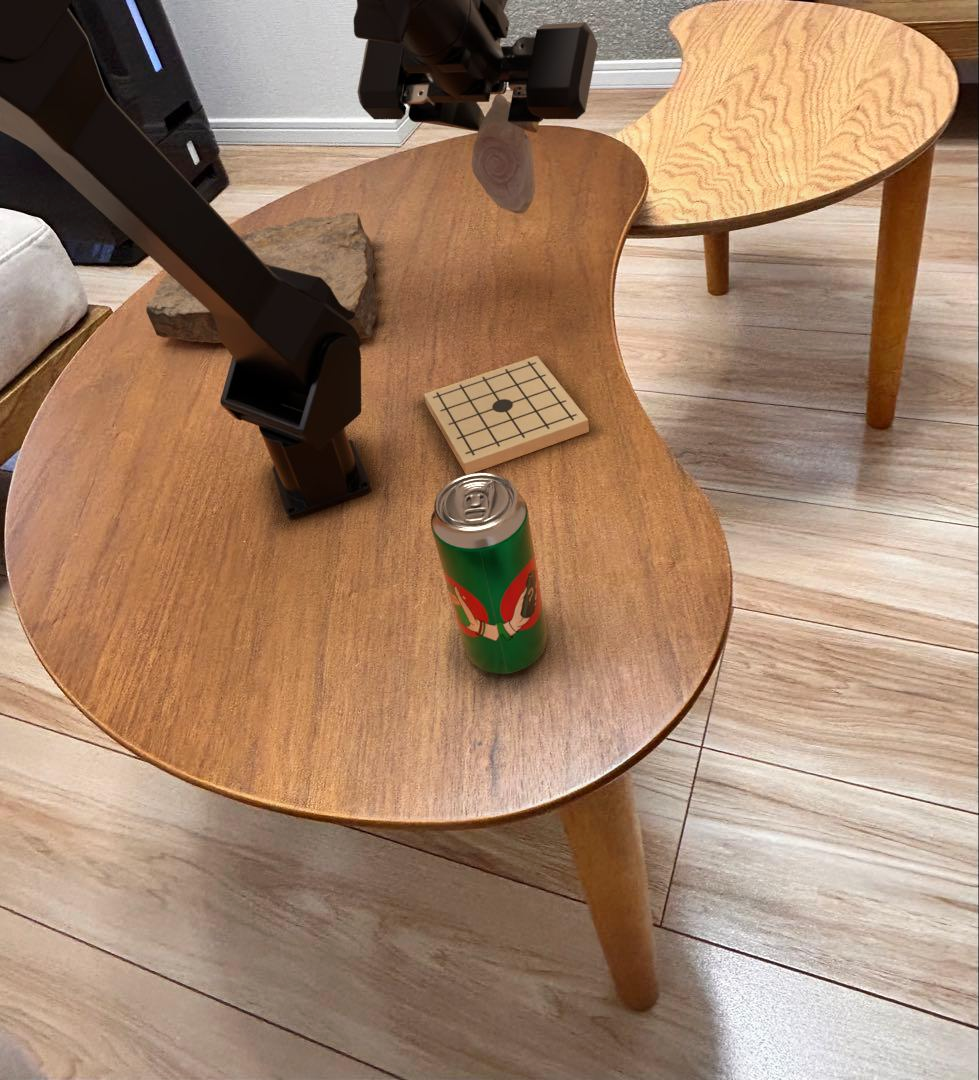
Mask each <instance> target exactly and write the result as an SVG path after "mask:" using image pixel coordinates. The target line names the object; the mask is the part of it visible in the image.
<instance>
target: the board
mask: <svg viewBox="0 0 979 1080" xmlns="http://www.w3.org/2000/svg"><path fill="white" fill-rule="evenodd" d="M423 396H424V400H425V405H426V407H427V409H428V411H429V412H430V414H431V416H432V418H433V419H434V421H435V423H436V425H437V427H438V428H439V430H440V432H441V434H442V435H443V437H444V439H445V440H446V443H447V444H448V446H449V447H450V449H451V451H452V453H453V455H454V456H455V458H456V460H457V462H458V463H459V465H460V467H461V469H462V471H463V472H464V475H469V474H474V473H479V472H480V471H483V470H486V469H488V468H491V467H495V466H497V465H500V464H503V463H506V462H508V461H511V460H514V459H517V458H520V457H522V456H525V455H528V454H532V453H533V452H536V451H539V450H542V449H545V448H548V447H550V446H554V445H556V444H559V443H561V442H564V441H567V440H569V439H573V438H577V437H579V436H582V435H585V434H587V433H589V432H590V427H589V419H588V417H587V416H586V415H585V414H584V412H583V411H582V410H581V409H580V408H579V406H578V405H577V404H576V402H575V401H574V400H573V398H572V397H571V396H570V395H569V394H568V392H567V391H566V390H565V389H564V387H563V386H562V385H561V384H560V382H559V381H558V380H557V378H555V376H554V375H553V374H552V372H551V371H550V370H549V368H547V366H546V365H545V364H544V362H543V361H542V360H541V358H540V357H539V356H538V355H534V356H531V357H528V358H526V359H522V360H519V361H517V362H513V363H511V364H508V365H505V366H502V367H498V368H496V369H493V370H490V371H487V372H484V373H481V374H478V375H475V376H472V377H469V378H466V379H463V380H460V381H458V382H455V383H452V384H448V385H445V386H443V387H440V388H436V389H434V390H431V391H427V392H425V393H424V394H423Z"/></svg>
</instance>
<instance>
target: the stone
mask: <svg viewBox="0 0 979 1080" xmlns="http://www.w3.org/2000/svg"><path fill="white" fill-rule="evenodd" d="M362 224H363V223H362V220H361V217H360V215H359V213H358V212H356V211H350V212H348V211H345V212H344V211H343V212H342V213H339V214H337V215H336V216H327V217H311V216H310V217H309V216H307V217H304V218H302V219H301V218H300V219H297V220H294V221H293V222H291V223H289V224H285V225H284V224H273V225H270V226H267V227H266V226H265V228H262V229H254V230H253V231H251V230H250V231H245V233H243V234H242V235H239V237H240V238H241V239H242V240H243V241H244V242H245V243H246V244H247V245H248V246H249V247H250V249H251V250H252V251H253V252H254V253H255V254H256V255H257V256H258V257H259V258H260V259H261V260H262V261H263V263H264V264H268V265H272V266H276V267H280V268H284V269H288V270H292V271H296V272H301V273H305V274H309V275H313V276H317V277H320V278H322V279H323V280H324V281H325V282H326V283H327V284H328V285H329V287H330V288H331V290H332V291H333V293H334V295H335V297H336V298H337V300H338V301H339V303H340V304H341V305H342V306H343V307H345V308H346V309H347V310H350V311H352V312H355V317H354V318H353V319H351V320H350V322H351V323H352V324H353V325H354V327H355V328H356V330H357V331H358V333H359V336H360V339H361V340H362V339H363V340H364V339H370V338H371V337H372V336H373V327H374V325H375V323H376V317H377V315H378V313H379V307H378V303H377V300H378V299H377V296H376V285H375V280H374V278H373V277H374V274H375V273H376V263H375V258H374V251H375V246H374V244H373V243H372V241H371V239H370V237H369V236H368V234H367V233H366V231H365V229H364V227H363V225H362ZM145 308H146V309H145V311H146V314H147V317H148V318H149V321H150V323H151V325H152V327H153V330H154V333H155V334H156V336H158V337H161V338H165V339H167V338H170V339H172V338H173V339H178V340H182V341H187V342H191V343H192V342H199V343H204V342H205V343H213V344H218V343H222V342H221V340H220V337H219V334H218V330H217V327H216V323H215V319H214V317H213V315H212V314H211V313H210V311H209V310H208V309H207V308H206V307H205V306H204V305H202V304H201V303H200V302H199V301H198V300H197V299H196V298H195V297H194V296H193V295H192V294H190V293H189V292H188V291H187V290H186V289H185V288H184V287H183V286H182V285H181V284H180V283H178V282H177V281H176V280H175V279H174V278H173V277H172V276H171V275H170V274H169V273H167V272H166V274H165V275H164V276H163V278H162V279H161V281H160V283H159V284H158V285H157V288H156V290H155V295H153V296H151V297H150V298H149V299H148V301H147V304H146V307H145Z"/></svg>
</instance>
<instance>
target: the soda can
mask: <svg viewBox="0 0 979 1080" xmlns="http://www.w3.org/2000/svg"><path fill="white" fill-rule="evenodd" d="M433 505H434V506H433V511H432V513H431V517H430V518H431V519H430V528H431V531H432V536H433V539H434V542H435V543H434V544H435V547H436V550H437V553H438V558H439V561H440V565H441V569H442V572H443V576H444V580H445V584H446V587H447V591H448V595H449V598H450V602H451V605H452V609H453V613H454V617H455V620H456V624H457V628H458V632H459V635H460V639H461V642H462V646H463V650H464V653H465V655H466V657H467V658H468V660H469V661H470V662H471V664H472V665H474V666H475V667H477V668H478V669H479V670H482V671H484V672H487V673H492V674H499V675H504V674H505V675H507V674H513V673H516V672H519V671H522V670H524V669H526V668H528V667H530V666H531V665H533V663H536V661H537V660H538V659H539V658H540V657H541V655H542V654H543V653H544V651H545V649H546V646H547V642H548V630H547V625H546V618H545V617H546V616H545V611H544V606H543V599H542V593H541V587H540V586H541V585H540V580H539V573H538V567H537V560H536V555H535V548H534V541H533V535H532V529H531V521H530V515H529V508H528V505H527V503H526V501H525V498H524V497H523V496H522V494H520V493H519V492H518V490H517V488H516V486H515V485H514V484H513V483H512V482H511V481H510V480H509V479H508V478H506V477H504V476H502V475H500V474H495V473H490V472H475V473H472V474H469V475H466V474H464V475H462V476H459V477H457V478H455V479H453V480H451V481H450V482H448V483H447V484H446V485H444V487H442V489H441V490H440V491H439V492H438V494H437V496H436V497H435V500H434V504H433Z"/></svg>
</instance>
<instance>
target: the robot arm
mask: <svg viewBox="0 0 979 1080" xmlns="http://www.w3.org/2000/svg"><path fill="white" fill-rule="evenodd" d="M508 1H509V0H356V10H355V13H354V15H353V33H354V36H355V37H356V38H357V39H360V40H361V39H362V40H367V41H366V43H365V48H364V53H363V59H362V64H361V69H360V76H359V81H358V86H357V97H358V102H359V104H360V105H361V108H362V109H363V110H364V111H365V112H366V113H367V114H368V115H369V116H370V117H371V118H372V119H373V120H402V119H403V118H404V117H405V116H406V112H407V106H408V112H407V113H408V119H409V120H410V121H411V122H413V123H422V124H429V125H434V126H435V125H436V126H441V127H449V128H454V129H460V130H464V131H473V132H476V133H478V131H479V128H480V125H481V123H482V121H483V119H484V118H485V116H486V115H485V114H484V112H483V110H482V108H481V107H480V104H478V103H489V102H490V100H491V98H490V97H491V95H498V94H500V95H504V94H506V92H507V89H508V88H509V90H510V91H512V95H511V100H510V103H511V105H510V110H509V116H508V122H510V123H512V124H514V125H517V126H519V127H521V128H523V129H525V131H528V132H531V133H538V129H539V124H540V123H541V122H543V120H578V119H579V118H580V117H581V116H582V115H584V114H585V113H586V110H587V104H588V99H589V96H590V95H589V94H590V90H591V89H590V88H591V85H592V84H591V83H592V77H593V73H594V68H595V61H596V56H597V52H598V46H599V44H598V41H597V39H596V36H595V35H594V32H593V30H592V29H591V28H590V26H589V25H588V24H587V22H585V21H584V22H565V23H564V22H562V23H542V24H541V25H540V26H539V27H538V28H536V32H535V36H521V37H519V38H518V39H516V41H515V42H514V43H513V45H506V46H504V45H503V46H501V39H507V38H508V33H509V27H510V20H509V19H508V16H507V15H506V13H505V12H504V10H505V9H506V6H507V3H508ZM73 2H74V0H0V132H2V133H4V134H5V135H7V136H9V137H10V138H12V139H14V140H17V141H19V142H20V143H22V144H23V145H25V146H27V147H28V148H30V149H31V150H33V151H34V152H35V153H36V154H37V155H38V156H39V157H40V158H42V159H43V161H45V162H46V163H47V164H48V166H50V167H51V168H52V169H53V170H55V171H56V172H57V174H59V175H60V176H61V177H62V178H63V179H65V180H66V182H68V183H69V184H70V185H71V186H72V187H73V188H75V190H76V191H77V192H78V193H80V194H81V195H82V196H83V197H84V198H85V199H86V200H88V201H89V203H91V205H93V206H94V208H96V209H97V210H99V211H100V212H101V213H102V214H103V215H104V216H105V217H106V218H107V219H108V220H109V221H110V222H111V223H112V224H113V225H114V226H116V227H117V228H118V229H119V230H120V231H122V232H123V234H125V236H127V237H128V238H129V239H130V240H131V241H132V242H134V244H136V245H137V246H138V247H139V248H140V249H141V250H142V251H143V252H145V254H146V255H147V256H149V257H150V258H151V259H152V260H153V261H154V262H155V263H157V265H158V266H159V267H161V268H162V269H163V270H164V271H165V272H166V274H167V273H169V274H170V275H171V276H172V277H173V278H174V279H175V280H176V281H177V282H178V283H180V284H181V285H182V286H183V287H184V288H185V289H186V290H187V291H188V292H189V293H190V294H192V295H193V296H194V297H195V298H196V299H197V300H198V301H199V302H200V303H201V304H202V305H204V306H205V307H206V308H207V309H208V310H209V311H210V313H211V314H212V315H213V317H214V319H215V323H216V327H217V330H218V334H219V337H220V340H221V342H220V343H221V344H222V345H223V346H224V347H225V349H226V350H227V352H228V353H229V354H230V355H231V360H230V364H229V368H228V371H227V374H226V378H225V381H224V382H225V383H224V385H223V389H222V393H221V397H220V400H219V402H220V405H221V407H223V408H224V410H226V412H228V413H229V415H231V416H232V418H234V419H235V420H238V421H241V422H242V421H244V422H246V423H249V424H252V425H255V426H257V427H258V430H259V432H260V435H261V437H262V439H263V442H264V444H265V447H266V449H267V451H268V454H269V456H270V459H271V461H272V463H273V466H272V472H273V475H274V477H275V482H276V485H277V489H278V493H279V495H280V498H281V502H282V505H283V508H284V512H285V514H286V516H287V518H288V519H290V520H291V519H292V520H293V519H297V518H299V517H302V516H305V515H308V514H310V513H314V512H316V511H319V510H322V509H324V508H327V507H330V506H333V505H336V504H339V503H342V502H345V501H347V500H350V499H353V498H356V497H360V496H362V495H364V494H367V493H370V492H371V490H372V484H371V481H370V479H369V476H368V474H367V472H366V469H365V467H364V465H363V463H362V461H361V457H360V455H359V453H358V451H357V448H356V447H355V444H354V441H353V440H351V439H349V438H348V435H347V432H346V429H345V428H346V427H348V426H349V425H350V424H351V423H352V422H353V421H354V420H355V419H356V418H358V417H359V416H360V415H361V414H362V353H361V349H360V348H361V346H362V339H360V336H359V333H358V331H357V330H356V328H355V327H354V325H353V324H352V323H351V322H350V320H351V319H353V318H354V317H355V312H352V311H350V310H347V309H346V308H345V307H343V306H342V305H341V304H340V303H339V301H338V300H337V298H336V297H335V295H334V293H333V291H332V290H331V288H330V287H329V285H328V284H327V283H326V282H325V281H324V280H323V279H322V278H320V277H317V276H313V275H309V274H305V273H301V272H296V271H292V270H288V269H284V268H280V267H276V266H272V265H268V264H264V263H263V261H262V260H261V259H260V258H259V257H258V256H257V255H256V254H255V253H254V252H253V251H252V250H251V249H250V247H249V246H248V245H247V244H246V243H245V242H244V241H243V240H242V239H241V238H240V235H238V233H237V232H236V231H235V230H234V228H232V227H231V226H230V225H229V223H227V221H226V220H225V219H224V218H223V217H222V216H221V215H220V214H219V213H218V211H216V210H215V209H214V208H213V206H212V205H211V204H210V203H209V202H208V201H207V200H206V199H205V198H204V197H203V196H202V194H201V193H200V192H199V191H198V190H197V189H196V188H195V187H194V186H193V185H192V184H191V182H189V180H188V179H187V178H186V177H185V176H184V175H183V174H182V173H181V172H180V171H179V170H178V168H176V166H175V165H174V164H173V163H172V162H171V161H170V160H169V159H168V158H167V157H166V155H164V154H163V152H162V151H161V150H160V149H159V148H158V147H157V146H156V145H155V144H154V143H153V142H152V140H151V139H150V138H149V137H148V136H147V135H146V134H145V132H143V131H142V130H141V129H140V128H139V127H138V125H137V124H136V123H135V121H133V120H132V119H131V118H130V117H129V116H128V114H127V113H125V111H124V110H123V109H122V108H121V107H120V106H119V105H118V104H117V103H116V102H115V100H113V98H112V96H111V95H110V94H109V92H108V90H107V89H106V87H105V84H104V81H103V78H102V76H101V73H100V70H99V67H98V64H97V61H96V58H95V56H94V53H93V49H92V46H91V44H90V40H89V38H88V35H87V34H86V32H85V30H84V29H83V27H82V26H81V25H80V22H79V21H78V20H77V19H76V18H75V16H74V15H73V13H72V11H71V10H70V9H69V7H70V6H71V4H72V3H73Z"/></svg>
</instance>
